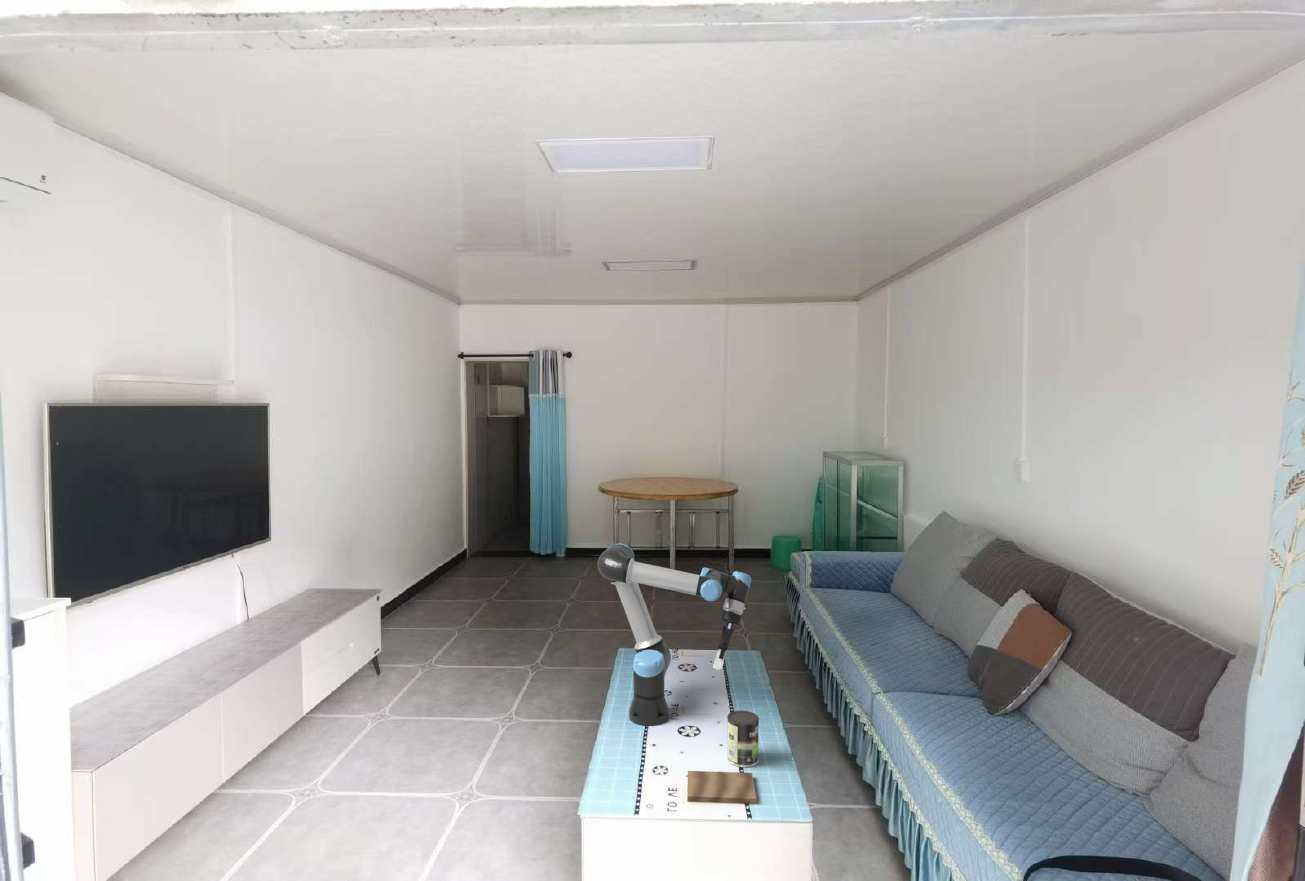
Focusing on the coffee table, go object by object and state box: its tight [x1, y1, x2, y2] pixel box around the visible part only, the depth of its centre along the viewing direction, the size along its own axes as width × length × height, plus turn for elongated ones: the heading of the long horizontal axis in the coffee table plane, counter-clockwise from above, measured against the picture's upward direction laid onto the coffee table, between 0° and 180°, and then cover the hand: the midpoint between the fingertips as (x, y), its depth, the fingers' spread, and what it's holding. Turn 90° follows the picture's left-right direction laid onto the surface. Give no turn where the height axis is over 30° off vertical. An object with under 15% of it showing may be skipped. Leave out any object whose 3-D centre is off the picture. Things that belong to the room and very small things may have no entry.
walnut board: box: [686, 770, 757, 805], centre depth 196 cm, size 20×14×2 cm
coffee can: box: [726, 710, 760, 768], centre depth 213 cm, size 10×10×14 cm
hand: (717, 668), depth 241 cm, fingers open, 13 cm apart
